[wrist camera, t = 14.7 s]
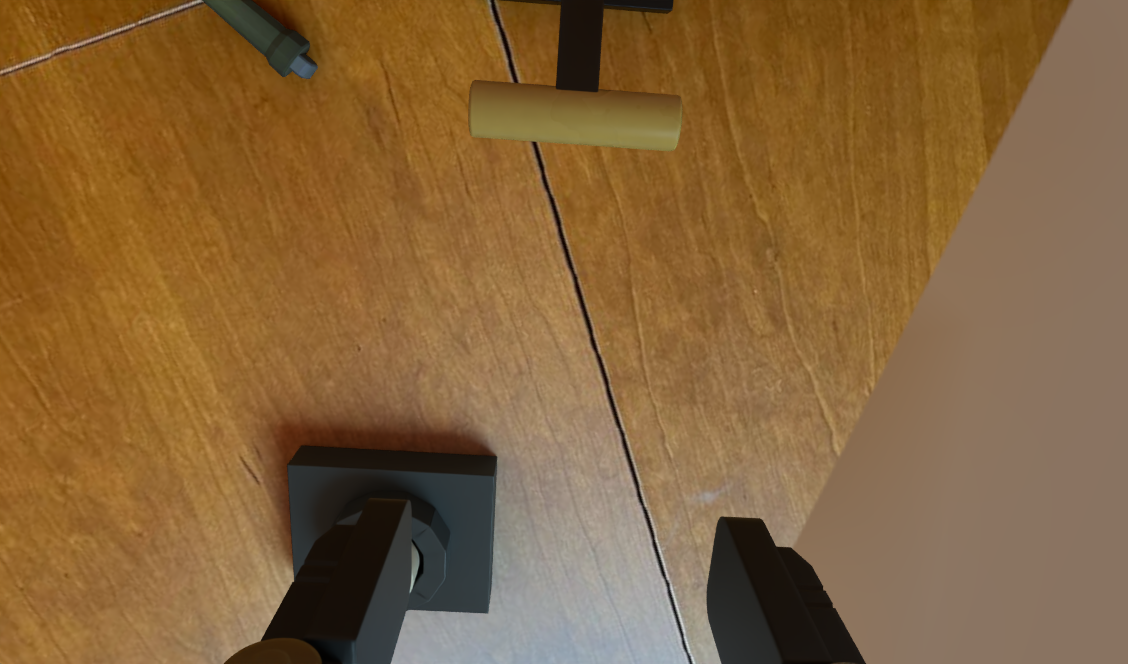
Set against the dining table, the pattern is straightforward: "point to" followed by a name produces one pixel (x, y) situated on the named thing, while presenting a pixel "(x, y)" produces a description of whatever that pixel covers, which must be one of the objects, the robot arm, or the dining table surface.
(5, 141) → the dining table surface
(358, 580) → the robot arm
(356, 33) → the dining table surface
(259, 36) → the knife
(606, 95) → the lever
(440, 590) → the block
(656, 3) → the latch bracket
